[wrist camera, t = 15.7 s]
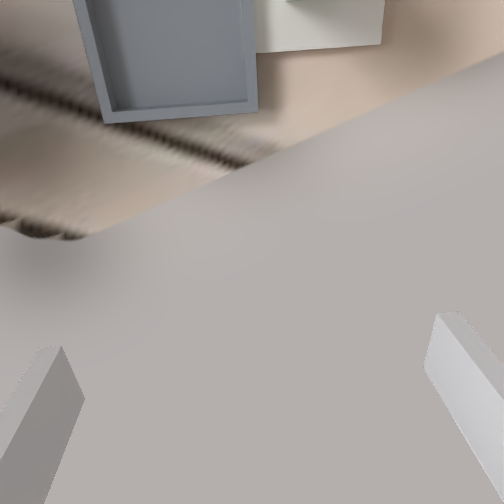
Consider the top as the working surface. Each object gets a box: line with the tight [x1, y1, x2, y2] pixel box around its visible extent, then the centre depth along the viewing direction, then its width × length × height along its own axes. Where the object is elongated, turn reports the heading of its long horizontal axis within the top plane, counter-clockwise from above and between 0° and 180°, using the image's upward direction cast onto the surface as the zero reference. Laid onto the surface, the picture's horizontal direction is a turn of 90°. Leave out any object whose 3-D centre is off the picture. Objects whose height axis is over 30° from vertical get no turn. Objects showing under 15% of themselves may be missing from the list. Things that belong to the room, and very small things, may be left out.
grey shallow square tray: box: [73, 0, 259, 124], centre depth 33 cm, size 15×15×2 cm
